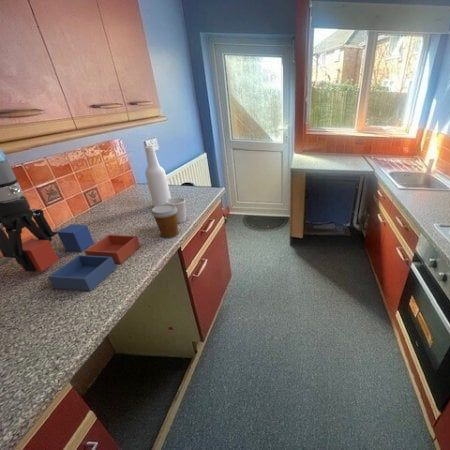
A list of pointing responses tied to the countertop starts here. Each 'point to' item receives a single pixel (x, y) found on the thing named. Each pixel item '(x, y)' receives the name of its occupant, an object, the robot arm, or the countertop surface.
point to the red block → (40, 253)
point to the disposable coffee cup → (166, 219)
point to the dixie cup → (178, 207)
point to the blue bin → (82, 272)
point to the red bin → (115, 247)
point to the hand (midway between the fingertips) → (41, 264)
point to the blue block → (75, 237)
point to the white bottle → (156, 178)
